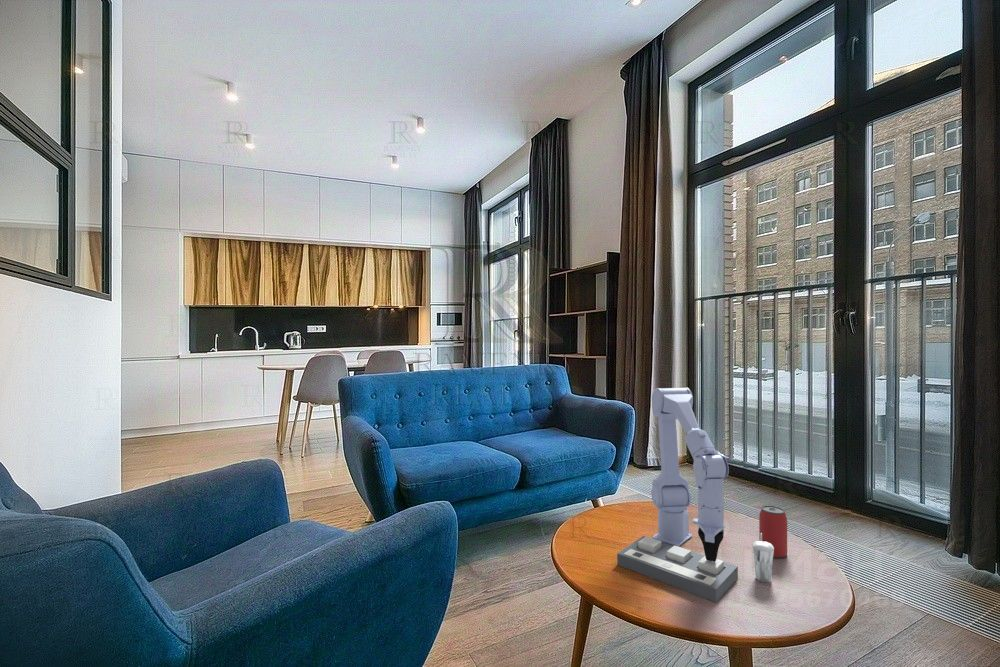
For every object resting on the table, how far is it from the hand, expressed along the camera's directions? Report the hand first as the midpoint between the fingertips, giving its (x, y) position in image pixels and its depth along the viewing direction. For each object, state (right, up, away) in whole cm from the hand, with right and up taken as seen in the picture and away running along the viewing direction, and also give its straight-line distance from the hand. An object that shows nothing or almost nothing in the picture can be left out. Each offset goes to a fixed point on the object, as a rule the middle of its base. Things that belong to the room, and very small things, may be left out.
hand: (711, 559), depth 118 cm
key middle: (-6, -3, +6) cm, 9 cm away
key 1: (-11, -3, +11) cm, 16 cm away
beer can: (+23, -5, +13) cm, 26 cm away
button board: (-7, -5, +4) cm, 10 cm away
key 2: (0, -3, 0) cm, 3 cm away
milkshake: (+13, -5, 0) cm, 14 cm away
